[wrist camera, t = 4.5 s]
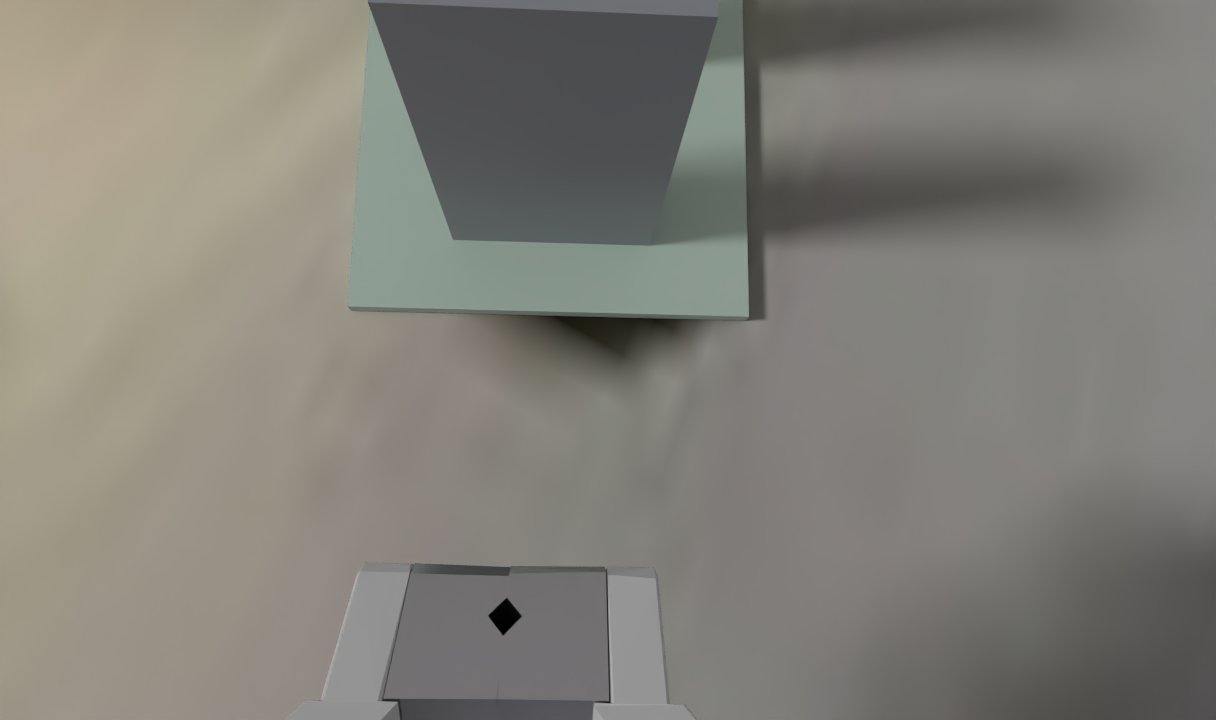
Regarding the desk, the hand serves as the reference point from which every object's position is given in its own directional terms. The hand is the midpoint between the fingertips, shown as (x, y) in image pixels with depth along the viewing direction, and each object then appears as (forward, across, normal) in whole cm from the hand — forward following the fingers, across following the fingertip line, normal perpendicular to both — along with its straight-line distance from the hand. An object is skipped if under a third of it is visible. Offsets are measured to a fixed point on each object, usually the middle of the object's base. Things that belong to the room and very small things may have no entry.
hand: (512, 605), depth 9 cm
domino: (+15, 0, +2) cm, 15 cm away
